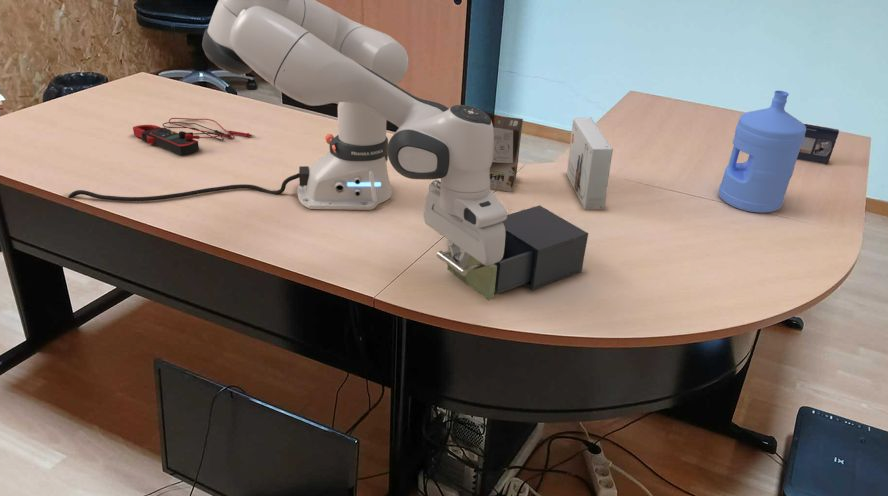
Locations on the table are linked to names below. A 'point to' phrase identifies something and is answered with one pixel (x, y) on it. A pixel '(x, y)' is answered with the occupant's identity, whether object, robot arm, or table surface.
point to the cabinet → (548, 244)
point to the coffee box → (505, 153)
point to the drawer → (495, 269)
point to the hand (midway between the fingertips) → (459, 263)
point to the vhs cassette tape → (818, 144)
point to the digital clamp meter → (178, 137)
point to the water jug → (763, 158)
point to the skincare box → (589, 163)
